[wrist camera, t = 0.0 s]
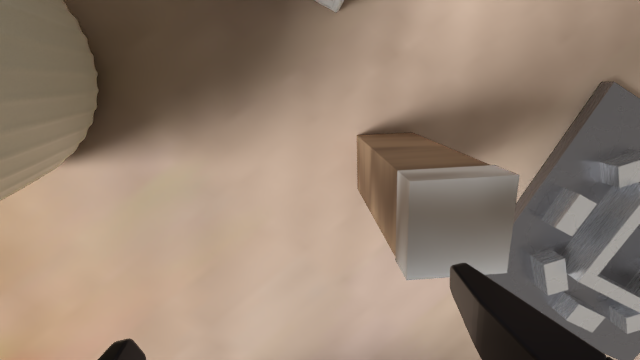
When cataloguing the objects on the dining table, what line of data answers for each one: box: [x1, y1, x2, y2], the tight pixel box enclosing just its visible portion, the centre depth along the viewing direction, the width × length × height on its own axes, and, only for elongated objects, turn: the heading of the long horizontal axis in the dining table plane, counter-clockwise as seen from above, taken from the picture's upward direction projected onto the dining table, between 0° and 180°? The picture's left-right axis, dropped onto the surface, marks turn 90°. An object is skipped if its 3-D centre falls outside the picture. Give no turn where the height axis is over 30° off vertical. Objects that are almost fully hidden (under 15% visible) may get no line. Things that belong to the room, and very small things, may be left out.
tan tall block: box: [357, 132, 519, 280], centre depth 18 cm, size 4×4×12 cm
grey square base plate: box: [486, 82, 640, 360], centre depth 25 cm, size 18×18×4 cm
